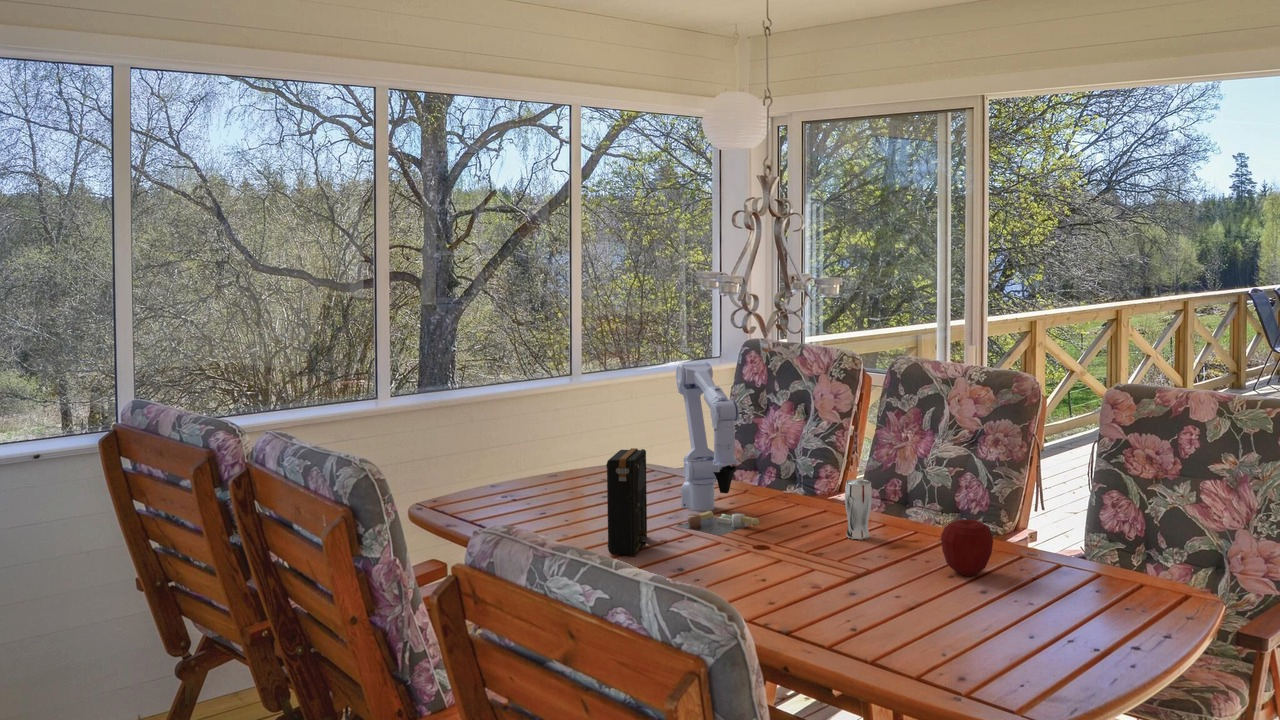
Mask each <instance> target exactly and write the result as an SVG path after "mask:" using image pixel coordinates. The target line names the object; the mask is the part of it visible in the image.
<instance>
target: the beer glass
mask: <svg viewBox="0 0 1280 720" xmlns="http://www.w3.org/2000/svg"><path fill="white" fill-rule="evenodd" d="M872 494H873V493H872V482H871V481H870V480H868V479H860V478H858V479H857V478H855V479H854V478H853V479H848V480H846V481H845V487H844V505H845V513H846V518H847V530H846V536H847V537H848V538H847V537H846V538H847V539H849V538H851V539H850V540H852V539H859V540H858V541H864V540H863V539H866V540H869V539H870V537H871V536H870V533H869V518H870V515H871V509H872V501H873V499H872V498H873V495H872ZM868 538H869V539H868Z"/></svg>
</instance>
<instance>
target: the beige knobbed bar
mask: <svg viewBox="0 0 1280 720" xmlns="http://www.w3.org/2000/svg"><path fill="white" fill-rule="evenodd" d="M712 517H713V518H714V512H713V510H709V511H704V512H702V513H701V512H700V513H698V514H697V513H694V514H693V513H692V514H688V515H687V523H688V527H689V528H700V527H701V520H705V519H711V518H712Z"/></svg>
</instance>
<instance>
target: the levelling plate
mask: <svg viewBox="0 0 1280 720" xmlns="http://www.w3.org/2000/svg"><path fill="white" fill-rule="evenodd" d="M748 526H750V524H747V523H745V527H741V528H737V527H732V523H731V524H726V523H721V522H718V517H714V516H713V517H712V518H711V519H705V520H701V527H700V528H689V527H688V522H685V523H683V524H680V525H676V526H675V527H677V528H681V529H686V530H690V531H695V532H701V533H705V534H711V535H714V536H715V535H716V536H719V537H720V536H724V535H726V534H729V533H733V532H735V531H739V530H741V529H743V528H747V527H748Z"/></svg>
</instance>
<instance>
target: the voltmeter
mask: <svg viewBox="0 0 1280 720" xmlns="http://www.w3.org/2000/svg"><path fill="white" fill-rule="evenodd" d="M606 482H607V483H606V486H607V487H606V489H607V490H606V491H607V492H606V496H607V549H608V553H609V554H610V555H618V556H619V555H621V556H623V555H624V556H631V557H636V556H637V555H638V554H639V552H640V551H641V550H642V548H643V547H644V545H645V544H646V541H644V540H645V539H647V537H648V524H647V523H648V522H647V521H648V516H647V515H648V511H647V500H648V499H647V497H648V496H647V495H648V494H647V451H646V449H643V448H642V449H638V448H635V447H634V448H633V447H631V448H629V449H620V450H619V451H617V452H616V453H615V454H614V455H612V456H611V457H610V458H609V459H608V460H607V463H606Z"/></svg>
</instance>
